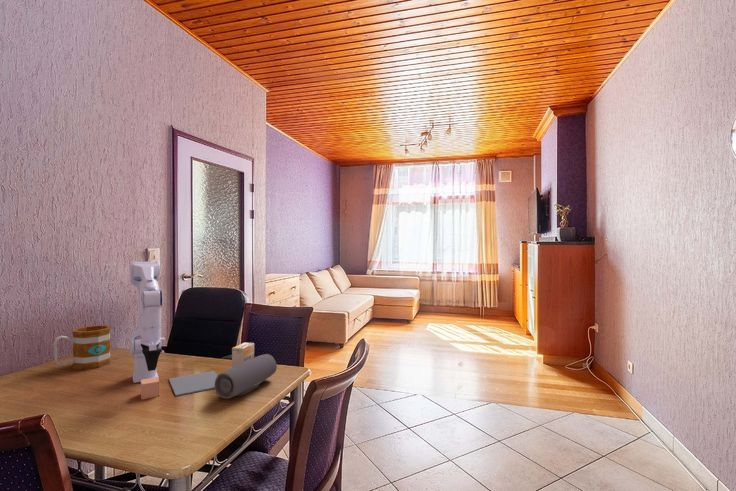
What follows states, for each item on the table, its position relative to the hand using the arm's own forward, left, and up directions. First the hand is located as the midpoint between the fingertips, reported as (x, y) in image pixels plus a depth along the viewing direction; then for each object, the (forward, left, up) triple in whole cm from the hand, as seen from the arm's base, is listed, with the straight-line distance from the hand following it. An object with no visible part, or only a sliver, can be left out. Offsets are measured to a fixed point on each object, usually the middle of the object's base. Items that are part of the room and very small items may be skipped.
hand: (150, 367), depth 125 cm
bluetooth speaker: (+13, +28, -10) cm, 33 cm away
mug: (-48, -20, -10) cm, 53 cm away
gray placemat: (-3, +15, -9) cm, 18 cm away
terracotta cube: (0, 0, -10) cm, 10 cm away
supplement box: (+3, +30, -10) cm, 31 cm away
